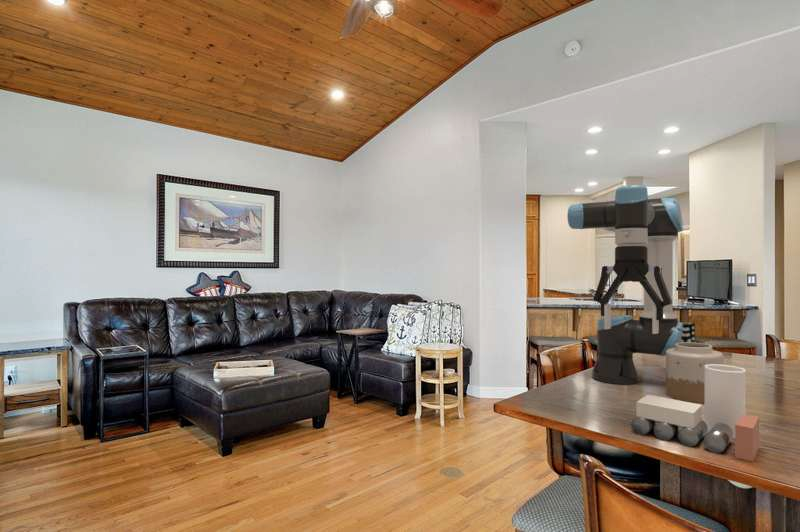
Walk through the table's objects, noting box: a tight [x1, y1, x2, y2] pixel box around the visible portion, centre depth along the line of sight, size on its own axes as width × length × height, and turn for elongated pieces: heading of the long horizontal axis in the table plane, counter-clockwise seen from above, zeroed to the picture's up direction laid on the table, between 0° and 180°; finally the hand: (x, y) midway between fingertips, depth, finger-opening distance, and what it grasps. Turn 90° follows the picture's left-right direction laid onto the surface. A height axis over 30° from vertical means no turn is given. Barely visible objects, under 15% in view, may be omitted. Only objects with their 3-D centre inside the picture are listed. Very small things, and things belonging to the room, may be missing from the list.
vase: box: [664, 342, 725, 405], centre depth 141 cm, size 15×15×17 cm
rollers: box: [631, 416, 733, 454], centre depth 107 cm, size 19×10×4 cm, turn 46°
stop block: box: [734, 414, 760, 463], centre depth 99 cm, size 3×10×7 cm, turn 135°
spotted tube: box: [679, 321, 696, 343], centre depth 170 cm, size 8×8×20 cm
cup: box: [703, 364, 747, 440], centre depth 111 cm, size 8×8×16 cm
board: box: [635, 394, 703, 429], centre depth 109 cm, size 12×9×4 cm
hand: (630, 331), depth 116 cm, fingers open, 11 cm apart
